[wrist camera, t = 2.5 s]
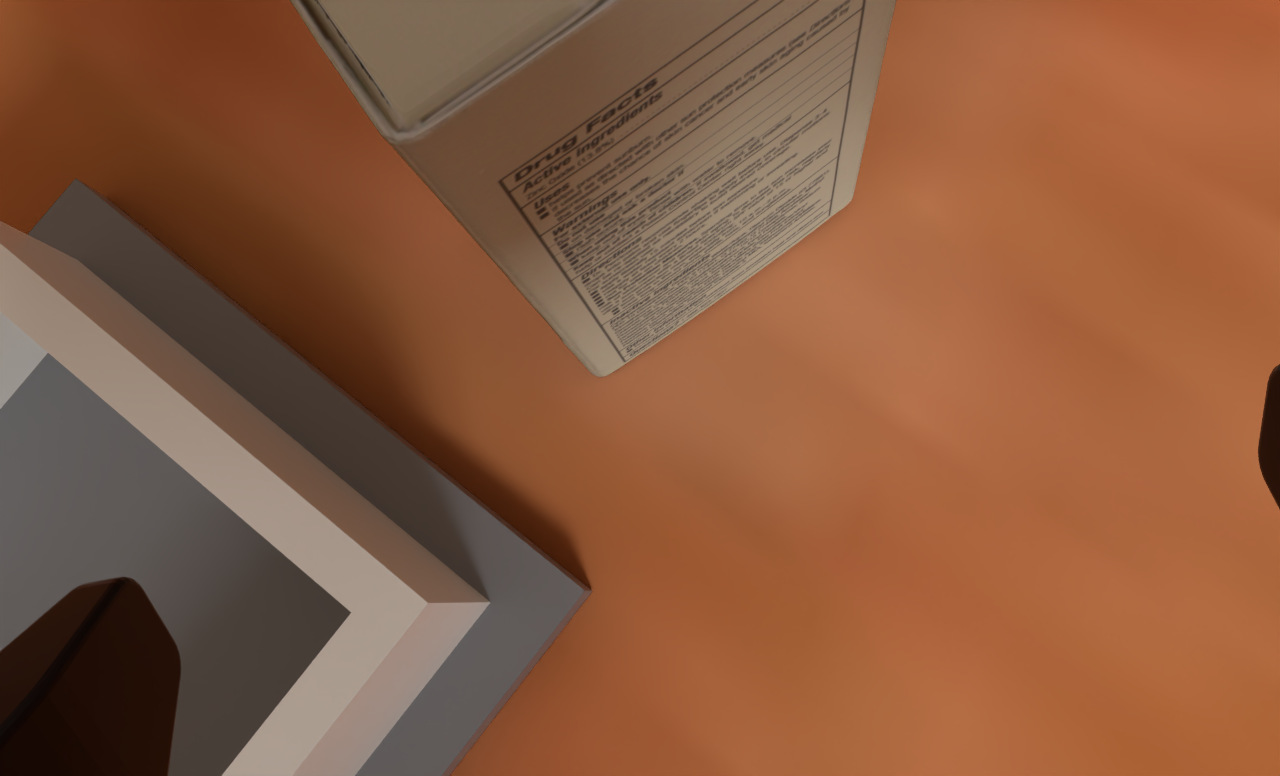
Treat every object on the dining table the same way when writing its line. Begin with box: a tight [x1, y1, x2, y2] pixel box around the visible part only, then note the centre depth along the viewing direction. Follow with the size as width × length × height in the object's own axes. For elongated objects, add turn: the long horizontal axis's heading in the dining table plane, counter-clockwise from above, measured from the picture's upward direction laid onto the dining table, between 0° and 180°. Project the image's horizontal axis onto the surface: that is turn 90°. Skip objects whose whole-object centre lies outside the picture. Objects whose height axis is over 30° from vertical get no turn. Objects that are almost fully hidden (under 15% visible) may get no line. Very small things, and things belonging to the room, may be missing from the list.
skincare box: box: [290, 0, 896, 377], centre depth 16 cm, size 6×4×12 cm
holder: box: [0, 179, 592, 776], centre depth 19 cm, size 13×13×5 cm
